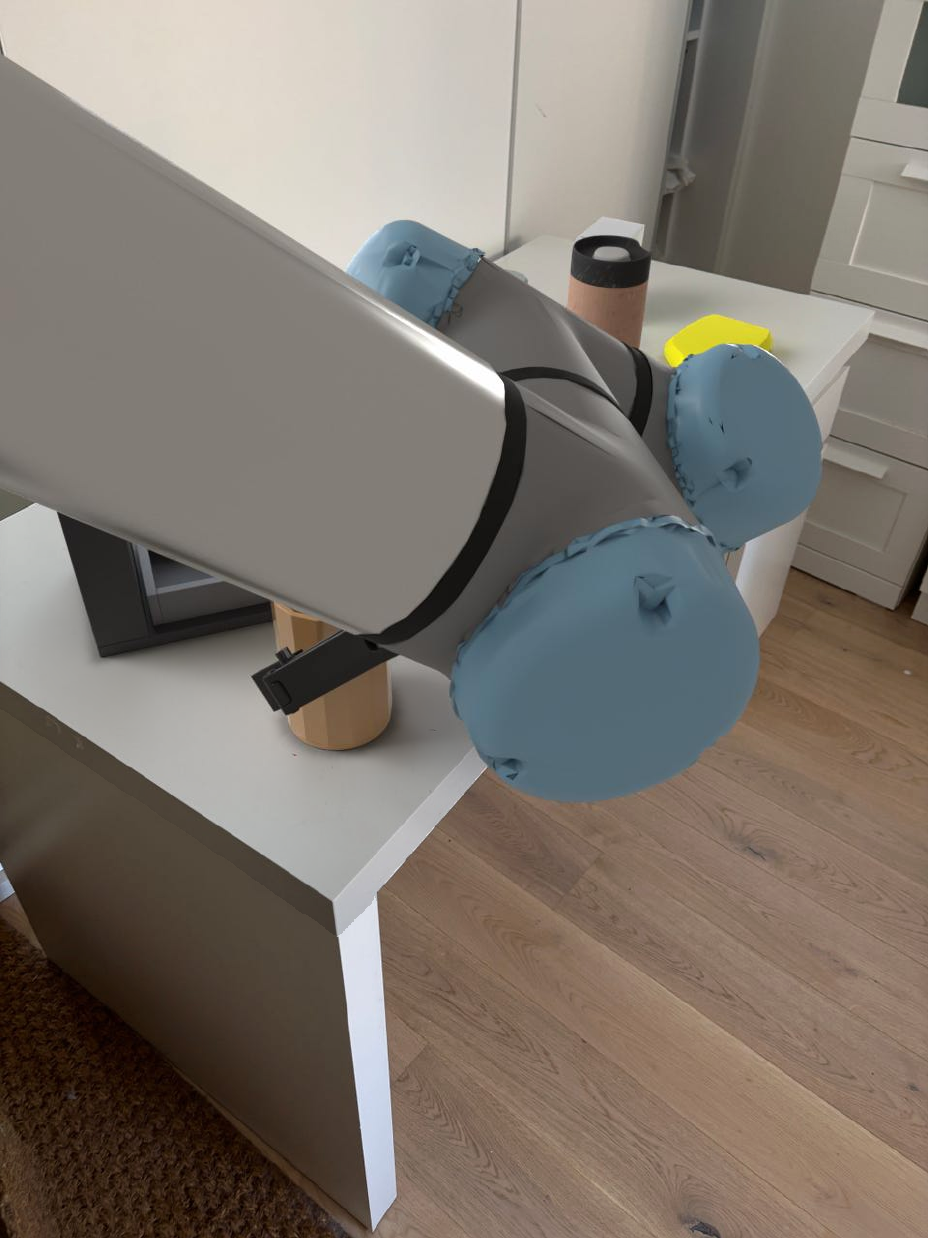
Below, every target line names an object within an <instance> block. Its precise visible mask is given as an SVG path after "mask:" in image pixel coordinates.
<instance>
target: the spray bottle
mask: <svg viewBox="0 0 928 1238" xmlns="http://www.w3.org/2000/svg"><path fill="white" fill-rule="evenodd" d="M723 343H732V344H743V345H746V344H751V345H755V346H757V347H760V348H762V349H763V350H765V351H767V352H769V353H770V351H771V350H772V348H773V345H774V338H773V334H772V332H771V330H770V329H768V328H766V327H762V326H759V325H755V324H753V323H748V322H745V321H742V320H737V319H735V318H731V317H726V316H724V315H720V314H715V313H712V314H709V315H706V316H702V317H700V318H699V319H697V320H695V321H693V322H692V323H690V324H688V325H687V326H685V327H684V328H682V329H681V330H680V331H678V332H677V333H675V334H674V335H672V337H669V339H668V340H667V341H666V343H665V344H664V347H663V351H664V357H665V359H666V361H667V362H668V364H669V367H678V365H679V364H681V363H682V362H683V360H684V359H685V358H687V356H688V355H690V354H694V355H696V354H701V353H703V352H705V351H707V350H709V349H710V348H712V347H714V346H717V345H719V344H723Z"/></svg>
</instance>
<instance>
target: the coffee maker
mask: <svg viewBox="0 0 928 1238" xmlns="http://www.w3.org/2000/svg"><path fill="white" fill-rule="evenodd" d="M56 514H57V518H58V521H59V525H60V528H61V531H62V535H63V538H64V541H65V545H66V547H67V548H66V549H67V551H68V555H69V558H70V562H71V565H72V568H73V571H74V575H75V579H76V581H77V585H78V588H79V591H80V595H81V598H82V602H83V606H84V608H85V612H86V615H87V618H88V621H89V626H90V629H91V632H92V635H93V639H94V642H95V646H96V648H97V652H98V655H99V658H103V657H108V656H113V655H117V654H122V653H126V652H131V651H134V650H141V649H146V648H149V647H154V646H160V645H163V644H168V643H173V642H177V641H178V642H179V641H182V640H183V641H184V640H187V639H191V638H196V637H200V636H205V635H210V634H215V633H216V634H217V633H220V632H224V631H228V630H234V629H238V628H243V627H247V626H252V625H257V624H261V623H267V622H273V617H272V610H271V603H270V599H267V598H265V597H262V596H260V595H257V594H255V593H253V592H250V591H248V590H245V589H243V588H241V587H238V586H236V585H233V584H231V583H228V582H226V581H224V580H221V579H219V578H216V577H214V576H212V575H209V574H207V573H204V572H202V571H199V570H197V569H195V568H192V567H190V566H187V565H185V564H182V563H180V562H178V561H175V560H173V559H170V558H168V557H166V556H163V555H161V554H158V553H156V552H153V551H151V550H149V549H146V548H144V547H141V546H139V545H137V544H134V543H132V542H129V541H127V540H124V539H122V538H120V537H117V536H115V535H112V534H110V533H108V532H105V531H103V530H100V529H98V528H95V527H93V526H91V525H88V524H86V523H83V522H81V521H79V520H76V519H74V518H71V517H69V516H66V515H64V514H62V513H59V512H57V511H56Z"/></svg>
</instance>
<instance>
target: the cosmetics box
mask: <svg viewBox="0 0 928 1238" xmlns="http://www.w3.org/2000/svg"><path fill="white" fill-rule="evenodd" d="M644 231H645V224H642V223H638V222H634V221H628V220H622V219H618V218H614V217H608V216H601V217H600V218H598V219H597V220H596V221H595V222H594V223H592V224H591V225H590V226H589V227H588V228H586V229H585V230H584V231H583V232H581V234H579V235H578V236H576V237H575V239H574V243H575V242H577V241H578V240H580V239H582V238H585V237H590V236H597V235H615V236H624V237H629V238H633V239H635V240H637V241H638V242H639V244H640V246H641V247H642V245H643V237H644Z"/></svg>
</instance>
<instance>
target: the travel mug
mask: <svg viewBox="0 0 928 1238" xmlns="http://www.w3.org/2000/svg"><path fill="white" fill-rule="evenodd" d="M571 251H572V252H571V261H570V271H569V280H568V291H567V301H566V308H567V309H569V310H571V311H572V312H574V313H575V314H577V315H579V316H580V317H582V318H584V319H585V320H587V321H588V322H590V323H592V324H593V325H595V326H596V327H598V328H600V329H601V330H603V331H605V332H606V333H608V334H609V335H611V336H613V337H614V338H616V339H618V340H620V341H622V342H624V343H626V344H627V345H630V346H633V347H635V348H637V349H639V350H640V347H641V340H642V332H643V326H644V325H643V324H644V319H645V309H646V302H647V294H648V288H649V279H650V271H651V265H652V257H653V249H652V248H651V249H650V250H646V249H645V248H644V247H642V245H641V246H640V244H639V242H638V241H637V240H635V239H633V238H629V237H624V236H615V235H597V236H590V237H585V238H582V239H580V240H578V241H577V242H575V241H574V244H573V246H572V250H571Z"/></svg>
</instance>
